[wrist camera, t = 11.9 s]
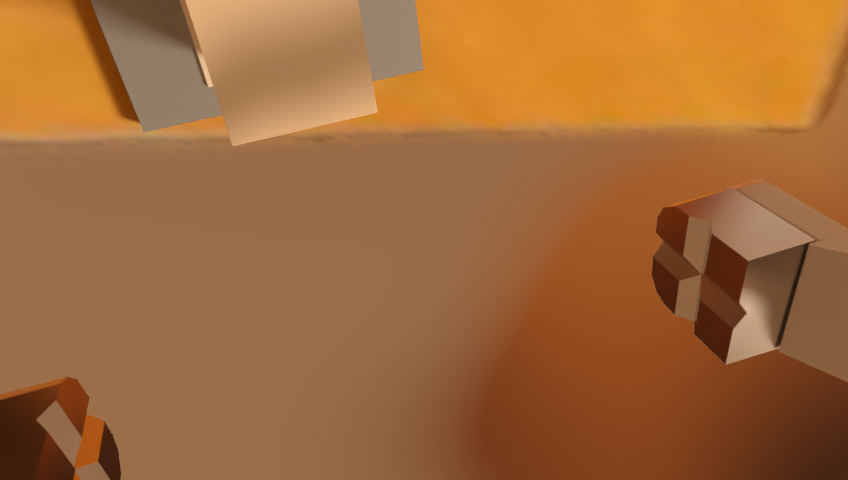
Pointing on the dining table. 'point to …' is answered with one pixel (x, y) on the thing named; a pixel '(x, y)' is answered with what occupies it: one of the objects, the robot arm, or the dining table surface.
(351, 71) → the maple block
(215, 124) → the dining table surface
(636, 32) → the dining table surface
